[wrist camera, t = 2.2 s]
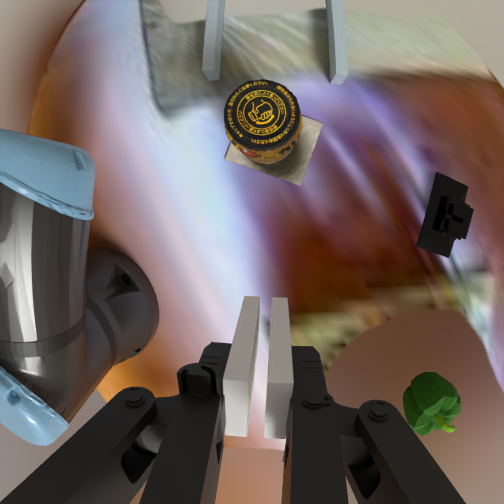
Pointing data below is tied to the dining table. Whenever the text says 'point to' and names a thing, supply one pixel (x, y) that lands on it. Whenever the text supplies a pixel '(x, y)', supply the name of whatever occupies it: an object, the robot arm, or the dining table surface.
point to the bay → (335, 38)
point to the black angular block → (445, 216)
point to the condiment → (269, 130)
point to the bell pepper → (431, 403)
